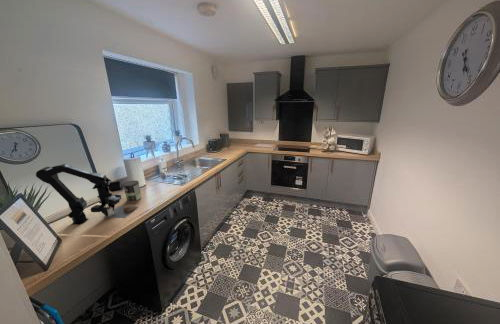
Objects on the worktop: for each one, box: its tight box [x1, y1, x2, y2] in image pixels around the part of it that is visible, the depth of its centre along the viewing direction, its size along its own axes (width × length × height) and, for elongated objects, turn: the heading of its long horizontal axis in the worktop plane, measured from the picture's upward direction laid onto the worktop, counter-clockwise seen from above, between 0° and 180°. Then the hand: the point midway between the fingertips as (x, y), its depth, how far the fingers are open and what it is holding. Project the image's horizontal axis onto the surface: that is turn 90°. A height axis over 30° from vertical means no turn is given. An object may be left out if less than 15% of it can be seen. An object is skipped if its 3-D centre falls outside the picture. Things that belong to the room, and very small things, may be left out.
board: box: [102, 206, 139, 219], centre depth 131 cm, size 16×14×1 cm
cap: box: [106, 206, 114, 217], centre depth 126 cm, size 4×4×6 cm
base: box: [122, 203, 137, 212], centre depth 133 cm, size 7×7×2 cm
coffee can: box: [122, 180, 142, 203], centre depth 147 cm, size 10×10×14 cm
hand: (110, 214), depth 127 cm, fingers closed on cap, 4 cm apart
